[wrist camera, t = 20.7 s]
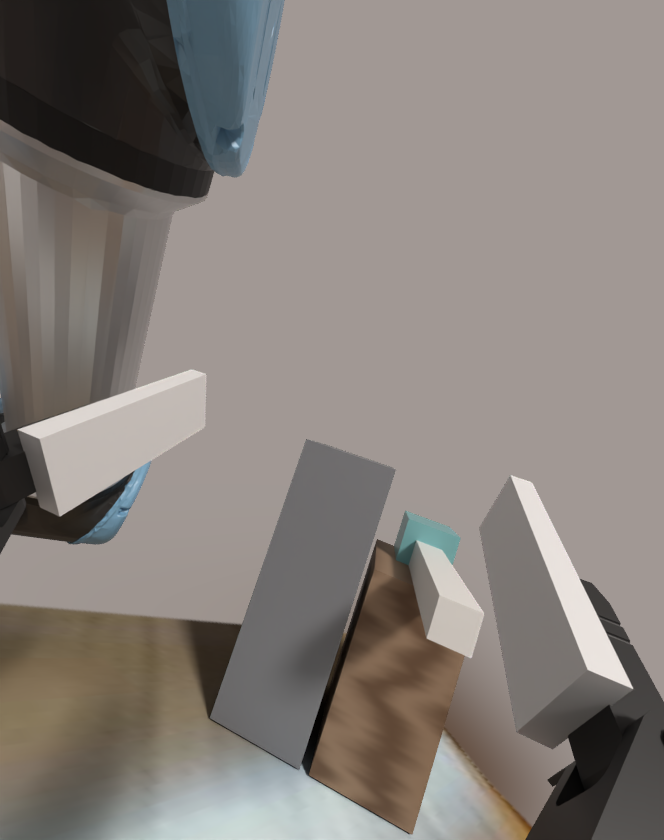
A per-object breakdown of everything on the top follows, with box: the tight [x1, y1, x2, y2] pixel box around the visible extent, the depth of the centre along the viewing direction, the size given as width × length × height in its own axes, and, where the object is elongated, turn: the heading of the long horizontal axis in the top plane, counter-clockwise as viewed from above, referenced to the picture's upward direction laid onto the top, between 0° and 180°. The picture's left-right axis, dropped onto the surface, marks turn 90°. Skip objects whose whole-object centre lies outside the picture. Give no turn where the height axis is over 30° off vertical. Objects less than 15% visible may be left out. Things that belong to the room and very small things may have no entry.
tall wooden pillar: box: [309, 539, 465, 834], centre depth 35 cm, size 10×12×20 cm
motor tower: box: [210, 439, 395, 769], centre depth 37 cm, size 10×12×30 cm
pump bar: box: [394, 511, 484, 658], centre depth 31 cm, size 6×21×5 cm, turn 170°
